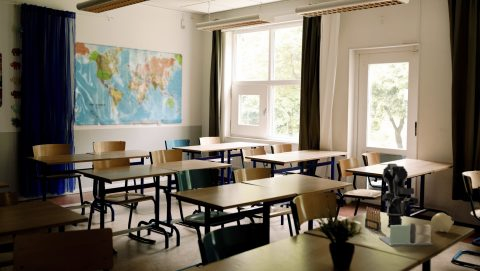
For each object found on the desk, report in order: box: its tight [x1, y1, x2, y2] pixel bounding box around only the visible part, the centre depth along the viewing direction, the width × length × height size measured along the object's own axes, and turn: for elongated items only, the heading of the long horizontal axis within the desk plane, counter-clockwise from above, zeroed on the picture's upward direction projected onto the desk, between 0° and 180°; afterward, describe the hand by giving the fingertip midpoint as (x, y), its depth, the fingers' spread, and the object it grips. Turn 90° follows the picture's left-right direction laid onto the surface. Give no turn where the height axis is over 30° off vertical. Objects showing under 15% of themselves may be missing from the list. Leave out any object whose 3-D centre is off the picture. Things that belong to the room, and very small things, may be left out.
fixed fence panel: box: [409, 222, 432, 244], centre depth 236 cm, size 10×2×10 cm, turn 98°
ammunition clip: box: [364, 206, 382, 232], centre depth 263 cm, size 11×2×12 cm, turn 30°
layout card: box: [378, 236, 434, 247], centre depth 241 cm, size 22×14×1 cm, turn 98°
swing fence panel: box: [389, 224, 411, 244], centre depth 235 cm, size 10×1×9 cm, turn 99°
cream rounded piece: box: [430, 212, 455, 233], centre depth 258 cm, size 10×12×11 cm
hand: (401, 214), depth 249 cm, fingers closed
